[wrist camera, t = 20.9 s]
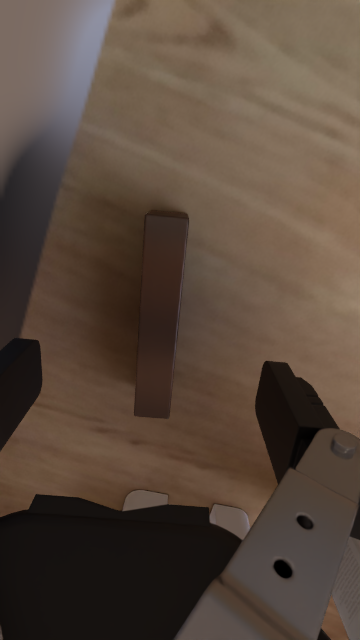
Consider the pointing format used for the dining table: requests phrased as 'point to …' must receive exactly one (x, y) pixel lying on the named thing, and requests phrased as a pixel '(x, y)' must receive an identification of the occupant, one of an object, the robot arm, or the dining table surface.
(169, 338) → the stick
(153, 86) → the dining table surface
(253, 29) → the dining table surface
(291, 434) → the robot arm
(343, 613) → the cosmetic box
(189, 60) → the dining table surface
